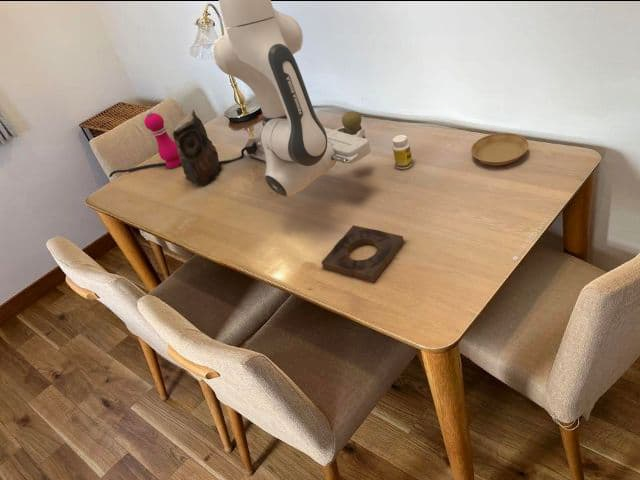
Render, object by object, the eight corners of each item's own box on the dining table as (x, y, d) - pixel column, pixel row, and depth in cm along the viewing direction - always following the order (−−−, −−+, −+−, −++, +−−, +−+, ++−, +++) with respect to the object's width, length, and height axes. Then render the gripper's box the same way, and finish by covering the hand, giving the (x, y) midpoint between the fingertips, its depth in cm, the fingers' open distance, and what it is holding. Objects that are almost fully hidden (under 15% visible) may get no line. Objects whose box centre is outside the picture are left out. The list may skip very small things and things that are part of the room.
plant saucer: (460, 159, 137) (459, 151, 136) (496, 135, 142) (496, 127, 141) (502, 176, 127) (502, 168, 126) (540, 150, 132) (540, 141, 131)
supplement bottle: (411, 168, 139) (407, 142, 134) (395, 170, 141) (389, 143, 135) (413, 159, 143) (409, 133, 137) (397, 160, 144) (392, 134, 139)
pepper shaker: (347, 147, 142) (338, 111, 134) (368, 142, 141) (360, 106, 134) (348, 158, 137) (339, 121, 130) (370, 153, 137) (362, 116, 129)
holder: (322, 268, 117) (320, 262, 115) (354, 230, 124) (352, 224, 123) (374, 283, 109) (372, 276, 108) (404, 242, 117) (403, 235, 116)
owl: (221, 161, 168) (195, 105, 155) (231, 175, 159) (205, 117, 146) (185, 176, 166) (157, 121, 152) (194, 192, 157) (164, 135, 143)
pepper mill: (190, 158, 175) (163, 104, 162) (177, 169, 171) (148, 115, 158) (175, 157, 178) (147, 104, 165) (162, 168, 174) (132, 115, 161)
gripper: (345, 152, 121) (382, 125, 127) (291, 136, 133) (328, 112, 139) (351, 174, 125) (386, 147, 131) (298, 156, 138) (333, 132, 144)
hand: (356, 129), depth 136 cm, fingers closed on pepper shaker, 4 cm apart
